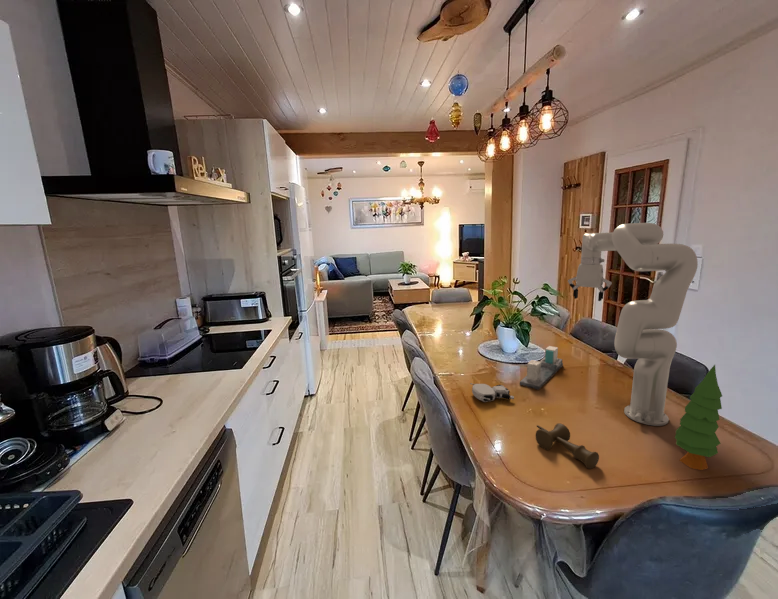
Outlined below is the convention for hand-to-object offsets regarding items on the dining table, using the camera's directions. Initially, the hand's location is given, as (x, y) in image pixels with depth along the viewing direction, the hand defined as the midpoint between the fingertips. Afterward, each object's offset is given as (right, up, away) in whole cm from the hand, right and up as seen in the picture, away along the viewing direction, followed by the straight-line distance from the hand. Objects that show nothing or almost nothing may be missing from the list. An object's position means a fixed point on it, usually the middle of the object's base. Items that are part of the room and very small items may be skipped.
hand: (587, 299), depth 158 cm
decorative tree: (-4, -47, -59) cm, 75 cm away
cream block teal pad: (-12, -31, +10) cm, 35 cm away
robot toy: (-48, -40, -17) cm, 65 cm away
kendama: (-36, -46, -51) cm, 78 cm away
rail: (-20, -34, +2) cm, 40 cm away
